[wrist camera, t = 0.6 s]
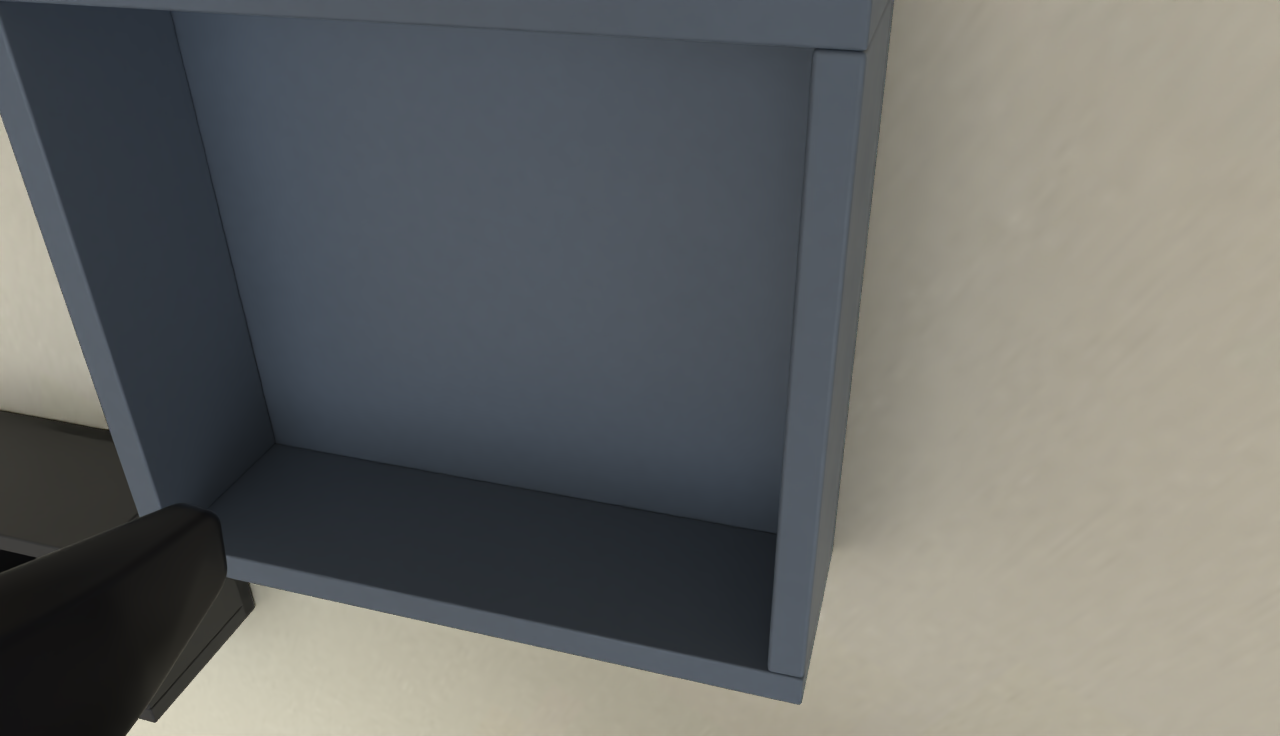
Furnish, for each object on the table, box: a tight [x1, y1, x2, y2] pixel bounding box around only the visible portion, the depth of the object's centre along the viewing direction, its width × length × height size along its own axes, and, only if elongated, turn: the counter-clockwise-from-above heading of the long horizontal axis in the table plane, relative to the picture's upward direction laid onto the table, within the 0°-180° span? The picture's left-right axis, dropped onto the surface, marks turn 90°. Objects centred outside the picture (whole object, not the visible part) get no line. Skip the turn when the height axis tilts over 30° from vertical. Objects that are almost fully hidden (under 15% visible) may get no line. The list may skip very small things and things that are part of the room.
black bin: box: [0, 411, 255, 723], centre depth 32 cm, size 7×9×5 cm
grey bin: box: [0, 0, 894, 705], centre depth 22 cm, size 15×17×5 cm
